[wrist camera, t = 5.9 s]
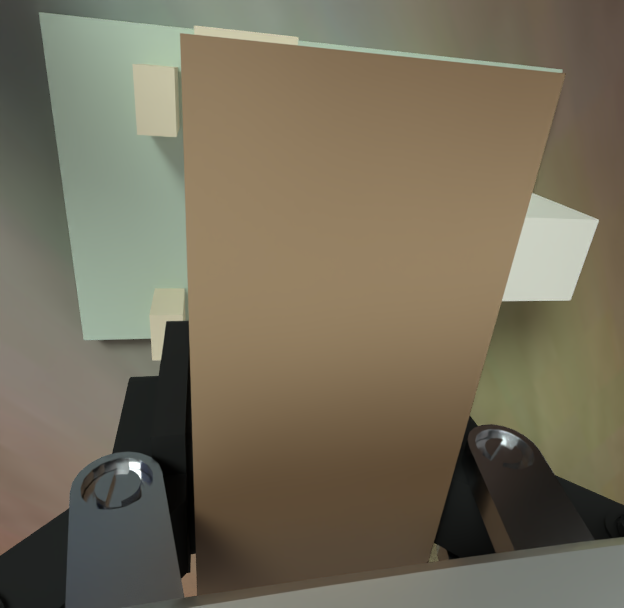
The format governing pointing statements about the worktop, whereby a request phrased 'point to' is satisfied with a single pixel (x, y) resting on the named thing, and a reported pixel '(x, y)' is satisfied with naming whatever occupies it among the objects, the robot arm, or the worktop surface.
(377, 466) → the brown block
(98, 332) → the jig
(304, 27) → the worktop surface
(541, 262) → the white rectangular brick
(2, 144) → the worktop surface
